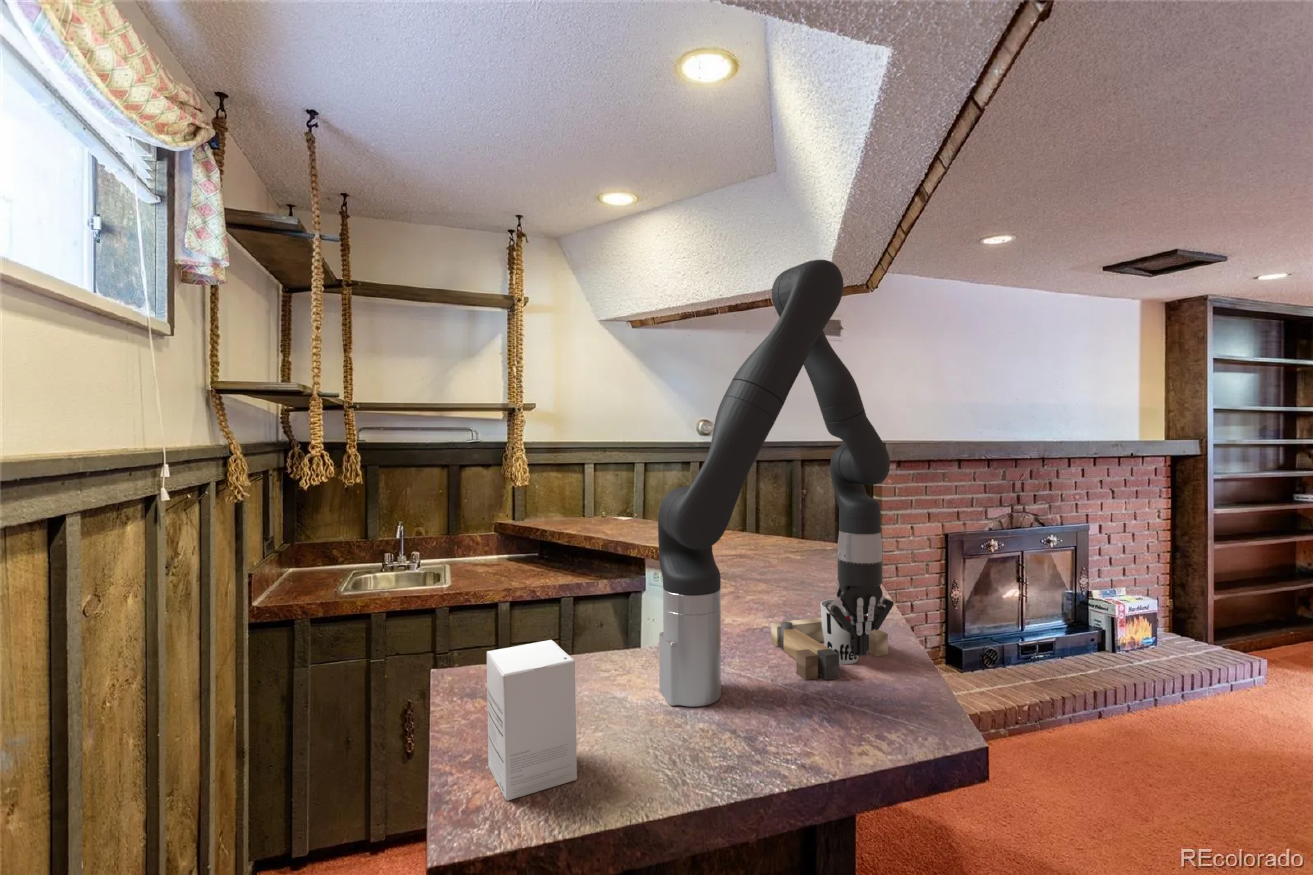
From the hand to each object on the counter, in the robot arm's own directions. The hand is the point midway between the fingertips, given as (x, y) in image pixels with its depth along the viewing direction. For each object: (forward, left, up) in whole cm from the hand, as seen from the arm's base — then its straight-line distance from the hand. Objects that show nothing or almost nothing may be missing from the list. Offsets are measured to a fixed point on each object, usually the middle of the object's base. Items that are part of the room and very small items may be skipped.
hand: (859, 654), depth 111 cm
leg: (-8, +5, -2) cm, 10 cm away
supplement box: (-59, -16, -3) cm, 61 cm away
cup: (0, +5, -3) cm, 6 cm away
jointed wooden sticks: (-1, +8, -3) cm, 8 cm away
